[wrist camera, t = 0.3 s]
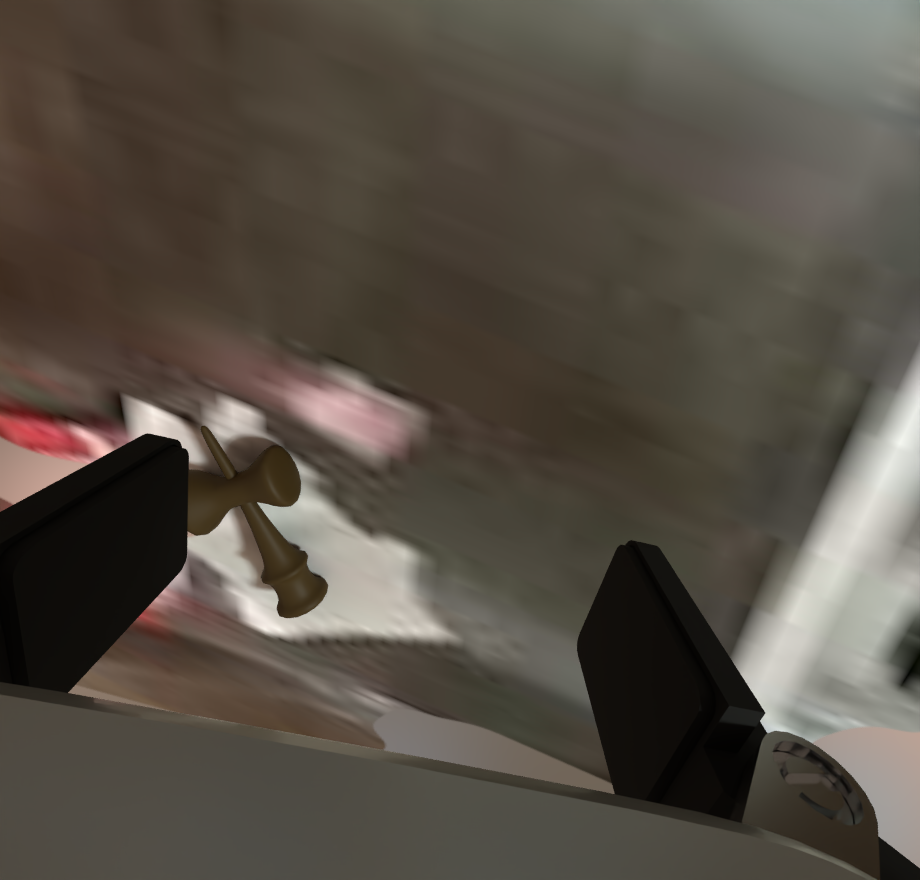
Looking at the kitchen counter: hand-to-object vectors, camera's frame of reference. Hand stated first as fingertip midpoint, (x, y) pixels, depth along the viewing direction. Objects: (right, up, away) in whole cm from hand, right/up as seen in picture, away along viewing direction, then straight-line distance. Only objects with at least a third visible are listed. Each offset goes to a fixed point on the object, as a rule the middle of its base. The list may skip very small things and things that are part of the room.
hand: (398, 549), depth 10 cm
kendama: (-17, -4, +35) cm, 39 cm away
